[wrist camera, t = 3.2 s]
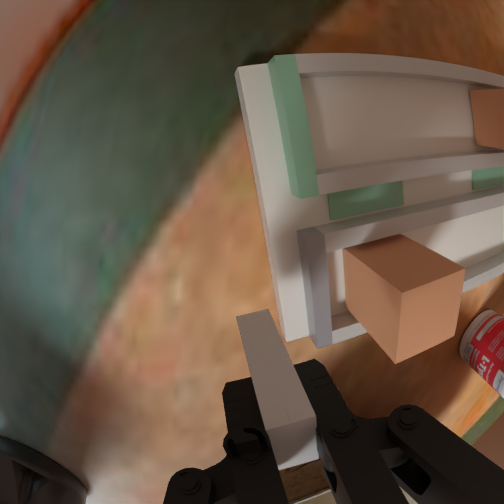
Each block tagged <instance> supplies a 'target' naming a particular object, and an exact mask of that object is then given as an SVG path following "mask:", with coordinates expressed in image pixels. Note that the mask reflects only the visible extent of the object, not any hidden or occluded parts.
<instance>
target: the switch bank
mask: <svg viewBox="0 0 504 504" xmlns="http://www.w3.org/2000/svg"><path fill="white" fill-rule="evenodd" d="M234 74H235V79H236V84H237V89H238V95H239V100H240V105H241V110H242V115H243V120H244V126H245V131H246V136H247V141H248V147H249V152H250V157H251V163H252V168H253V173H254V179H255V184H256V190H257V195H258V201H259V206H260V212H261V217H262V223H263V228H264V234H265V240H266V245H267V251H268V257H269V263H270V268H271V274H272V280H273V286H274V292H275V298H276V303H277V309H278V315H279V321H280V327H281V331H282V333H283V335H284V337H285V339H286V341H287V342H288V341H292V340H295V339H299V338H303V337H306V336H310V338H311V339H312V341H313V343H314V344H315V346H316V348H317V349H319V348H322V347H325V346H329V345H332V344H335V343H338V342H341V341H344V340H347V339H350V338H353V337H356V336H359V335H362V334H364V333H367V331H366V330H365V328H364V327H363V326H362V325H361V324H360V323H359V322H358V320H357V319H356V318H355V317H354V316H353V315H352V314H351V312H350V311H349V310H348V309H347V308H346V304H345V283H344V266H343V252H342V248H346V247H350V246H354V245H358V244H362V243H366V242H370V241H374V240H378V239H381V238H385V237H389V236H393V235H397V234H402V235H404V236H406V237H408V238H410V239H412V240H414V241H416V242H418V243H419V244H421V245H423V246H425V247H427V248H429V249H431V250H433V251H435V252H437V253H438V254H440V255H442V256H444V257H446V258H448V259H449V260H451V261H453V262H455V263H457V264H459V265H460V266H462V267H464V268H465V276H464V283H463V291H462V293H465V292H467V291H469V290H471V289H473V288H475V287H477V286H479V285H481V284H483V283H485V282H487V281H489V280H491V279H493V278H495V277H497V276H499V275H501V274H503V273H504V149H503V148H496V147H488V146H480V145H476V142H475V131H474V122H473V114H472V106H471V99H470V93H469V90H485V89H504V76H503V75H500V74H496V73H492V72H488V71H484V70H480V69H476V68H471V67H467V66H462V65H457V64H452V63H446V62H440V61H434V60H428V59H420V58H412V57H403V56H393V55H380V54H362V53H306V54H287V55H274V56H273V58H272V59H271V60H270V61H269V62H268V63H266V64H257V65H249V66H241V67H238V68H237V70H236V72H235V73H234Z"/></svg>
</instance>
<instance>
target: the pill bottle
mask: <svg viewBox="0 0 504 504" xmlns="http://www.w3.org/2000/svg"><path fill="white" fill-rule="evenodd" d="M459 351H460V356H461V357H462V359H463V360H464V361H465V362H466V363H467V364H469V366H471V367H472V368H473V369H474V370H475V371H476V372H477V373H478V374H479V375H480V376H481V377H482V378H483V379H484V380H485V381H486V382H487V383H488V384H489V385H490V386H491V387H492V388H493V389H494V390H495V391H497V392H498V394H500V395H501V396H502V397H503V398H504V317H502V316H501V315H500V314H498V313H497V312H495V311H493V310H486V311H484V312H482V313H481V314H479V315H478V316H477V317H476V318H475V319H474V320H473V321H472V323H471V324H470V325H469V326H468V328H467V329H466V331H465V333H464V335H463V337H462V340H461V343H460V348H459Z"/></svg>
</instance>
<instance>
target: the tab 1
mask: <svg viewBox="0 0 504 504" xmlns="http://www.w3.org/2000/svg"><path fill="white" fill-rule="evenodd" d="M342 252H343V266H344V283H345V304H346V308H347V309H348V310H349V311H350V312H351V314H352V315H353V316H354V317H355V318H356V319H357V320H358V322H359V323H360V324H361V325H362V326H363V327H364V328H365V330H366V331H367V332H368V333H369V334H370V335H371V336H372V338H373V339H374V340H375V341H376V342H377V343H378V345H379V346H380V347H381V348H382V349H383V350H384V352H385V353H386V354H387V355H388V356H389V357H390V359H391V360H392V361H393V362H394V363H395V364H397V363H399V362H401V361H403V360H406V359H408V358H410V357H412V356H415V355H417V354H419V353H421V352H423V351H425V350H427V349H429V348H431V347H434V346H436V345H438V344H440V343H442V342H444V341H445V340H447V339H449V338H451V337H453V336H454V335H455V330H456V325H457V320H458V315H459V309H460V303H461V297H462V291H463V283H464V276H465V268H464V267H462V266H460V265H459V264H457V263H455V262H453V261H451V260H449V259H448V258H446V257H444V256H442V255H440V254H438V253H437V252H435V251H433V250H431V249H429V248H427V247H425V246H423V245H421V244H419V243H418V242H416V241H414V240H412V239H410V238H408V237H406V236H404V235H402V234H397V235H393V236H389V237H385V238H381V239H378V240H374V241H370V242H366V243H362V244H358V245H354V246H350V247H346V248H342Z"/></svg>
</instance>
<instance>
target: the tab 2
mask: <svg viewBox="0 0 504 504" xmlns="http://www.w3.org/2000/svg"><path fill="white" fill-rule="evenodd" d="M469 93H470V99H471V106H472V114H473V122H474V131H475V142H476V145H480V146H488V147H496V148H503V149H504V89H485V90H469Z"/></svg>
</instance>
